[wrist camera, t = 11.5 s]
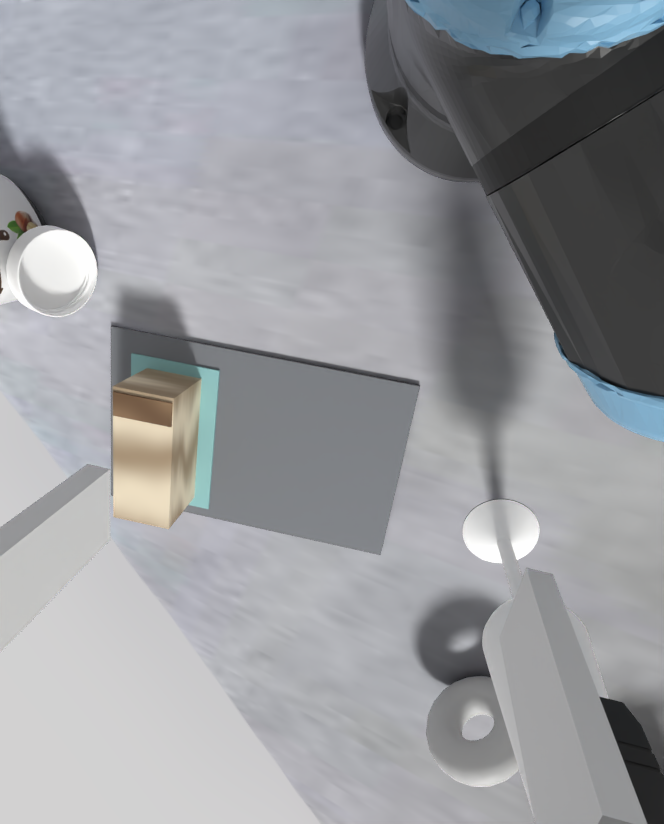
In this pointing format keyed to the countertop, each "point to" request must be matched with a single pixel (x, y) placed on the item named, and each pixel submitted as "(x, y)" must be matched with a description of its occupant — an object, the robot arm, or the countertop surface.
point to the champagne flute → (513, 595)
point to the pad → (205, 417)
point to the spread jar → (41, 259)
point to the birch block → (155, 446)
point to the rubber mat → (293, 440)
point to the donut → (463, 757)
